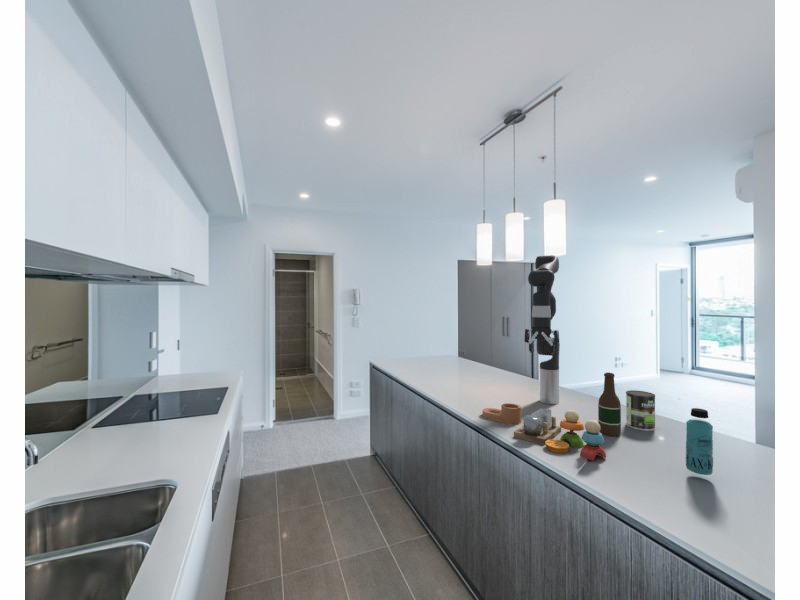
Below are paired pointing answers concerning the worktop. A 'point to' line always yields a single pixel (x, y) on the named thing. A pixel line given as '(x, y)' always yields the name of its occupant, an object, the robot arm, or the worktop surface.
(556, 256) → the robot arm
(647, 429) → the coffee can
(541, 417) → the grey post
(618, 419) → the beer bottle
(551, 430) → the rack
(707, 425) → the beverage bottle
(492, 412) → the bracket
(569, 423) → the wooden stacking toy
